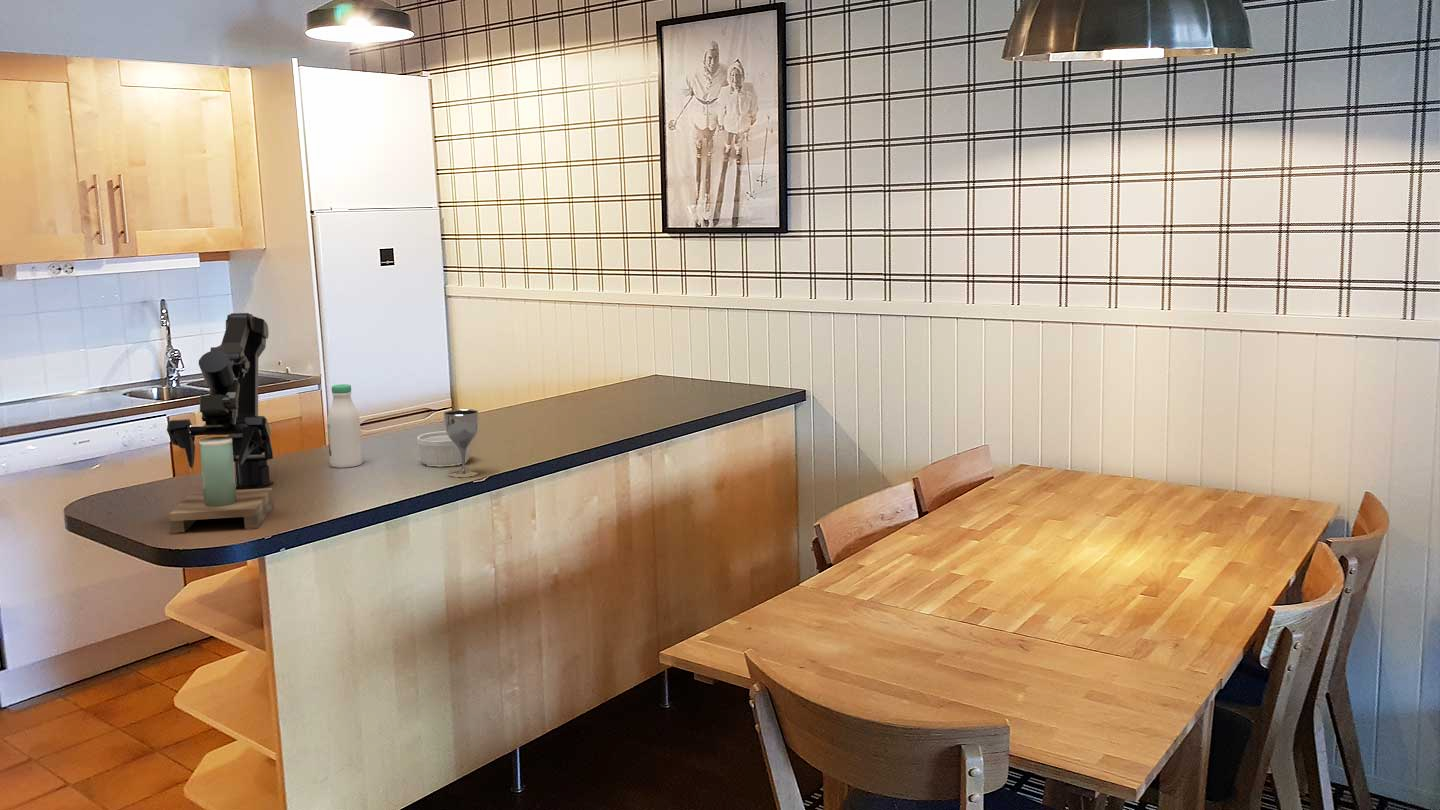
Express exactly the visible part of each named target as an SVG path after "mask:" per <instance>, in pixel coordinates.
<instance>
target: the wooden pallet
mask: <svg viewBox="0 0 1440 810" xmlns="http://www.w3.org/2000/svg"><path fill="white" fill-rule="evenodd" d="M273 496H274V495H273V488H272V487H268V488H266V487H264V488H258V489H236V498H237V502H236V503H234V504H231V505H226V506H206V505H205V504H204V492H203V491H198V492H197V491H196V492H195V491H193V492H191V493H190V494H188V495H187V496H186V497H185V498H184V499H183V500H182V501H181V502H180V503H179V504H178V505H176V507H174V508H173V509H172V510H171V512H169V524H170V534H171V533H173V534H179V533H178V532H185V531H186V530H187V531H188V529H190V528H191V526H192V525H193V524H194V523H195V522H196V521H197V520H210V519H211V520H212V519H230V518H243V522H244V523H243V524H244V530H250V529H251V530H252V529H259V528H260V526H261V524H262V523H263V522H264V520H265V519H266V518H267V516H268V514H269V513H270V512H271V511H272V509H273V508H274V497H273ZM195 520H196V521H195ZM194 521H195V522H194ZM193 522H194V523H193ZM190 525H191V526H190ZM187 531H186V532H187ZM186 532H185V533H186Z"/></svg>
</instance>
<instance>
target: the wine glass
mask: <svg viewBox="0 0 1440 810" xmlns="http://www.w3.org/2000/svg"><path fill="white" fill-rule="evenodd" d="M443 420H444V421H443V422H444V428H445V431H446V432H447V435H448V437H449V438H450V439H451V440H452V441H453V442H454V443H455V444H456V446H457V447H458V448H459V450H460V453H461V459H462V465H461V469H459V470H458V472H457V471H454V472H455V473H456V474H466V473H469V472H471V471H472V470H469V469H467V468H466V463H465V455H466V449H467V447H468V445H469V444H470V443H472V441H473V440H474V439H475V437H476V435H477V433H478V429H479V411H478V410H477V409H467V408H466V409H463V408H462V409H461V408H460V409H452V410H446V411H444V412H443Z"/></svg>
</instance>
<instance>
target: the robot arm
mask: <svg viewBox="0 0 1440 810" xmlns="http://www.w3.org/2000/svg"><path fill="white" fill-rule="evenodd" d="M268 339H269V326H268V323H267V322H266V320H265V319H263V318H261V317H257V316H254V315H253V314H252V313H248V312H233V313H232V312H231V313H230V314H227V317H226V320H225V331H224V335H223V337H222V341H221V343H220V345H218V346H216V347H215V346H213V347H212V346H211V347H210V351H207V352H206V353H204V354H203V355H202V356H201V357H200V358H199V360H198V367H199V368H200V372H201V374H202V377H203V380H204V382H205V384H206V386H207V387H209V389H208V390H209V391H208V394H205V395H200V397H199V412H200V413H201V421H202V422H204V424H195V425H193V424H192V422H191V419H189V418H185V419H171V420H170V421H169V422H168V423H167V425H166V432H167V433H168V436H169V438H170V441H171V443H172V445H174V446H176V447H177V446H178V447H179V448H180V449H184V451H185V454H186V458H187V462H188V465H189V467H190V468H191V469H193V467H194V465H195V455H196V445H195V440H196V436H197V437H198V436H215V435H216V436H226V437H231V438H232V447H233V459H234V469H235V482H236V483H235V485H236V489H243V490H247V489H262V488H263V487H266V486H269V485H271V484H273V483H274V481H273V480H271V479H270V467H269V465H268V461H269V460H272V459H274V451H273V446H272V443H271V442H272V441H271V428H270V425H269V422H268V419H267V418H266V416H264V415H259V358H260V356H261V355H262V353H263V352H264V351H265V349H266V347H267V340H268Z"/></svg>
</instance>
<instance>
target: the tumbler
mask: <svg viewBox="0 0 1440 810" xmlns="http://www.w3.org/2000/svg"><path fill="white" fill-rule="evenodd" d="M198 444H199V445H198V446H199V454H200V455H199V456H200V467H201V475H202V488H203V489H202V492H204V504H205V505H206V506H226V505H231V504H234V503H236V502H237V498H236V490H237V488H236V471H235V462H234V459H233V447H232V438H231V437H227V436H215V437H213V436H212V437H205V438H202V439H199V441H198Z"/></svg>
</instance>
